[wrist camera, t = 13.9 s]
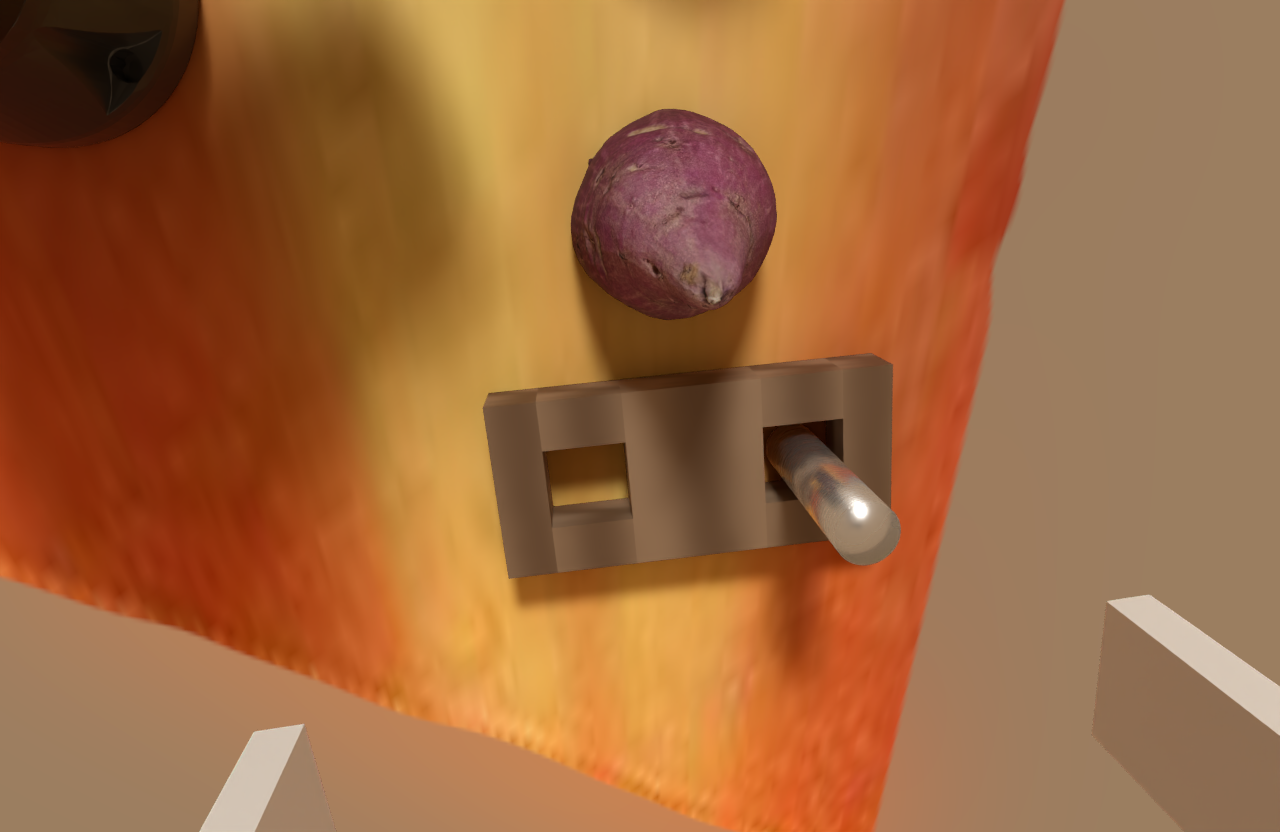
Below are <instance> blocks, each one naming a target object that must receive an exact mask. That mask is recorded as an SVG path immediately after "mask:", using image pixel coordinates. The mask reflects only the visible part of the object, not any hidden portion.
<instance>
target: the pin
mask: <svg viewBox="0 0 1280 832" xmlns="http://www.w3.org/2000/svg"><path fill="white" fill-rule="evenodd" d="M766 455H767V458H768V460H769V461H770V463H771V464H772V465H773V467H774V468H775V469H776V470H777V472H778V473H779V474H780V476H781V477H782V478H783V480H784V481H785V482H786V484H787V485H788V486H789V488H790V489H791V490H792V492H793V493H794V494H795V496H796V497H797V498H798V500H799V501H800V502H801V504H802V505H803V506H804V508H805V509H806V510H807V512H808V513H809V514H810V516H811V517H812V518H813V520H814V521H815V522H816V523H817V525H818V526H819V527H820V529H821V530H822V531H823V533H824V534H825V535H826V537H827V538H828V539H829V541H830V542H831V543H832V545H833V546H834V547H835V549H836V550H837V551H838V553H839V554H840V555H841V556H842V557H843V558H844V559H845V560H846V561H848V562H850V563H853V564H856V565H870V564H874V563H877V562H879V561H881V560H883V559H885V558H886V557H887V556H888V555H889V554H891V552H892V551H893V550H894V549H895V547H896V546H897V544H898V541H899V538H900V533H901V527H900V522H899V519H898V517H897V516H896V514H895V513H894V512H893V511H892V510H891V509H890V508H889V507H888V506H887V505H886V504H885V503H884V502H883V501H882V500H881V499H880V498H879V497H878V496H877V495H876V494H875V493H874V492H873V491H872V490H871V489H870V488H869V487H868V486H867V485H865V484H864V483H863V482H862V481H861V480H860V479H859V478H858V477H857V476H856V475H855V474H854V473H853V472H852V471H851V470H850V469H849V468H848V467H847V466H846V465H845V464H844V463H843V462H842V461H841V460H840V459H839V458H838V457H837V456H836V455H835V454H834V453H833V452H832V451H831V450H830V449H829V448H828V447H827V446H826V445H824V444H823V443H822V442H821V441H820V440H819V439H818V438H817V437H816V436H815V435H814V434H813V433H812V432H811V431H810V430H809V429H808V428H807V427H805V426H804V425H802V424H799V423H798V424H789V425H781V426H779V427H777V428H776V429H775V430H774V431H773V432H772V433H771V434H770V436H769V438H768V440H767V443H766Z"/></svg>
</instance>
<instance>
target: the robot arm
mask: <svg viewBox="0 0 1280 832" xmlns="http://www.w3.org/2000/svg"><path fill="white" fill-rule="evenodd" d="M197 22H198V0H0V142H4V143H10V144H19V145H29V146H40V147H54V148H67V147H79V146H87V145H92V144H96V143H100V142H103V141H107V140H110V139H112V138H115V137H118V136H120V135H122V134H124V133H126V132H128V131H130V130H132V129H133V128H135V127H137V126H138V125H140V124H141V123H143V122H144V121H145V120H147V119H148V118H149V117H150V116H151V115H153V114H154V113H155V112H156V111H157V110H158V109H159V108H160V107H161V106H162V105H163V104H164V103H165V101H166V100H167V99H168V98H169V96H170V95H171V94H172V92H173V91H174V89H175V88H176V86H177V85H178V83H179V81H180V79H181V77H182V76H183V74H184V71H185V69H186V67H187V64H188V62H189V59H190V56H191V53H192V49H193V45H194V41H195V36H196V30H197ZM1092 736H1093V737H1094V738H1095V739H1096V740H1097V741H1098V742H1099V743H1100V744H1101V745H1102V746H1103V747H1104V748H1105V750H1106V751H1107V752H1108V753H1109V754H1110V755H1111V756H1112V757H1113V758H1114V759H1115V760H1116V761H1117V762H1118V763H1119V764H1120V765H1121V766H1122V767H1123V768H1124V769H1125V770H1126V772H1127V773H1129V775H1130V776H1131V777H1132V778H1133V779H1134V780H1135V781H1136V782H1137V783H1138V784H1139V785H1140V786H1141V787H1142V788H1143V789H1144V790H1145V791H1146V792H1147V793H1148V795H1150V797H1151V798H1152V799H1153V800H1154V801H1156V803H1157V804H1158V805H1159V806H1160V807H1161V808H1162V809H1163V810H1164V811H1165V812H1166V813H1167V814H1168V815H1169V816H1170V818H1171V819H1172V820H1173V821H1174V822H1175V823H1176V824H1177V825H1178V826H1179V827H1180V828H1181V829H1182V830H1183V831H1184V832H1280V686H1278V685H1277V684H1275V683H1274V682H1272V681H1271V680H1270V679H1268V678H1267V677H1265V676H1264V675H1262V674H1261V673H1260V672H1258V671H1257V670H1255V669H1254V668H1253V667H1251V666H1250V665H1248V664H1247V663H1246V662H1244V661H1243V660H1241V659H1240V658H1238V657H1237V656H1236V655H1234V654H1233V653H1231V652H1230V651H1229V650H1227V649H1226V648H1224V647H1223V646H1222V645H1220V644H1219V643H1217V642H1216V641H1214V640H1213V639H1212V638H1210V637H1209V636H1207V635H1206V634H1204V633H1203V632H1202V631H1200V630H1199V629H1197V628H1196V627H1195V626H1193V625H1192V624H1190V623H1189V622H1188V621H1186V620H1185V619H1183V618H1182V617H1181V616H1179V615H1177V614H1176V613H1175V612H1173V611H1172V610H1171V609H1169V608H1168V607H1166V606H1165V605H1164V604H1162V603H1161V602H1159V601H1158V600H1156V599H1155V598H1154V597H1152V596H1151V595H1145V596H1138V597H1131V598H1125V599H1118V600H1111V601H1106V609H1105V619H1104V628H1103V637H1102V646H1101V655H1100V664H1099V673H1098V682H1097V691H1096V700H1095V709H1094V718H1093V727H1092ZM199 832H336V829H335V825H334V822H333V819H332V815H331V812H330V808H329V805H328V802H327V798H326V795H325V791H324V789H323V785H322V781H321V778H320V775H319V771H318V768H317V764H316V761H315V758H314V754H313V751H312V748H311V744H310V741H309V737H308V734H307V731H306V728H305V724H299V725H293V726H287V727H281V728H273V729H267V730H261V731H254V732H253V734H252V736H251V738H250V740H249V741H248V743H247V745H246V747H245V749H244V750H243V752H242V754H241V756H240V758H239V760H238V761H237V764H236V765H235V767H234V769H233V771H232V772H231V774H230V776H229V778H228V780H227V782H226V783H225V786H224V787H223V789H222V791H221V793H220V795H219V796H218V798H217V800H216V802H215V804H214V805H213V807H212V809H211V811H210V813H209V815H208V816H207V818H206V820H205V822H204V824H203V826H202V828H201V829H200V831H199Z"/></svg>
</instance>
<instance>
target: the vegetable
mask: <svg viewBox="0 0 1280 832" xmlns="http://www.w3.org/2000/svg"><path fill="white" fill-rule="evenodd" d="M776 220H777V212H776V199H775V193H774V190H773V186H772V183H771V181H770V178H769V176H768V174H767V171H766V169H765V167H764V166H763V164H762V162H761V161H760V159H759V157H758V156H757V154H756V153H755V151H754V150H753V148H752V147H751V146H750V145H749V144H748V143H747V142H746V141H745V140H744V139H743V138H742V137H741V136H739V135H738V134H737V133H735V132H734V131H733V130H732V129H730V128H728V127H726V126H724V125H722V124H720V123H718V122H716V121H714V120H712V119H710V118H708V117H705V116H702V115H699V114H697V113H694V112H690V111H686V110H678V109H662V110H658V111H655V112H653V113H651V114H649V115H646V116H644V117H642V118H640V119H638V120H636V121H634V122H632V123H630V124H629V125H627V126H625V127H624V128H622V129H621V130H620V131H618V132H617V133H615V134H614V135H613V136H611V137H610V138H609V139H608V140H607V141H606V142H605V143H604V145H603V146H602V148H601V149H600V150H599V151H598V152H597V154H596V155H595V157H594V158H593V159H589V167H588V169H587V172H586V174H585V177H584V179H583V181H582V184H581V186H580V189H579V191H578V193H577V196H576V199H575V203H574V208H573V212H572V216H571V234H572V241H573V247H574V250H575V252H576V255H577V258H578V260H579V262H580V264H581V265H582V267H583V268H584V270H585V272H586V273H587V275H588V276H589V277H590V278H591V279H593V280H594V281H595V282H596V283H597V284H598V285H599V286H600V287H602V288H603V289H604V290H605V291H606V292H607V293H608V294H610V295H611V296H613V297H614V298H616V299H618V300H619V301H621V302H622V303H624V304H625V305H627V306H629V307H631V308H633V309H635V310H637V311H639V312H641V313H643V314H645V315H648V316H650V317H654V318H659V319H663V320H672V319H681V318H689V317H693V316H695V315H698V314H701V313H704V312H706V311H708V310H714V309H718V308H720V307H722V306H724V305H725V304H727V303H728V302H729V301H730V300H731V299H732V298H733V296H735V295H736V294H737V293H739V292H740V291H741V290H742V289H743V288H744V287H745V286H747V285H748V284H749V283H750V282H751V281H752V279H753V278H754V277H755V275H756V273H757V272H758V270H759V268H760V266H761V265H762V263H763V261H764V259H765V257H766V255H767V252H768V250H769V247H770V244H771V242H772V239H773V236H774V232H775V227H776Z"/></svg>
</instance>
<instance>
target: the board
mask: <svg viewBox="0 0 1280 832" xmlns="http://www.w3.org/2000/svg"><path fill="white" fill-rule="evenodd" d="M892 383H893V364H891V363H889V362H887V361H885V360H883V359H881V358H879V357H877V356H876V355H874V354H872V353H869V354H859V355H850V356H840V357H831V358H821V359H812V360H802V361H792V362H783V363H773V364H764V365H754V366H745V367H735V368H726V369H716V370H706V371H697V372H687V373H678V374H668V375H659V376H649V377H640V378H630V379H620V380H611V381H601V382H592V383H582V384H573V385H563V386H554V387H544V388H534V389H525V390H515V391H506V392H496V393H489V394H488V396H487V399H486V401H485V404H484V406H483V413H484V419H485V426H486V432H487V439H488V445H489V452H490V459H491V465H492V472H493V478H494V485H495V491H496V498H497V504H498V511H499V518H500V524H501V531H502V537H503V544H504V550H505V557H506V564H507V570H508V577H509V579H510V578H519V577H527V576H535V575H543V574H552V573H560V572H568V571H577V570H585V569H593V568H602V567H610V566H618V565H627V564H635V563H643V562H652V561H660V560H668V559H677V558H685V557H693V556H702V555H710V554H718V553H726V552H735V551H743V550H751V549H760V548H768V547H776V546H785V545H793V544H801V543H810V542H818V541H826V540H829V539H828V538H827V537H826V535H825V534H824V533H823V531H822V530H821V529H820V527H819V526H818V525H817V523H816V522H815V521H814V520H813V518H812V517H811V516H810V514H809V513H808V512H807V510H806V509H805V508H804V506H803V505H802V504H801V502H800V501H799V500H798V498H797V497H796V496H795V494H794V493H793V492H792V490H791V489H790V488H789V486H788V485H787V484H786V482H785V481H784V480H781V481H772V482H765V474H764V449H763V427H771V426H780V425H789V424H798V423H807V422H816V421H825V420H826V446H827V447H828V448H829V449H830V450H831V451H832V452H833V453H834V454H835V455H836V456H837V457H838V458H839V459H840V460H841V461H842V462H843V463H844V464H845V465H846V466H847V467H848V468H849V469H850V470H851V471H852V472H853V473H854V474H855V475H856V476H857V477H858V478H859V479H860V480H861V481H862V482H863V483H864V484H865V485H867V486H868V487H869V488H870V489H871V490H872V491H873V492H874V493H875V494H876V495H877V496H878V497H879V498H880V499H881V500H882V501H883V502H884V503H885V504H886V505H887V506H888V507H889V508H890V509H891V455H892ZM616 443H624V452H625V462H626V473H627V483H628V494H629V498H624V499H615V500H607V501H598V502H589V503H580V504H572V505H563V506H554V507H553V502H552V494H551V486H550V478H549V470H548V463H547V455H546V451H553V450H562V449H571V448H580V447H589V446H598V445H607V444H616Z"/></svg>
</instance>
